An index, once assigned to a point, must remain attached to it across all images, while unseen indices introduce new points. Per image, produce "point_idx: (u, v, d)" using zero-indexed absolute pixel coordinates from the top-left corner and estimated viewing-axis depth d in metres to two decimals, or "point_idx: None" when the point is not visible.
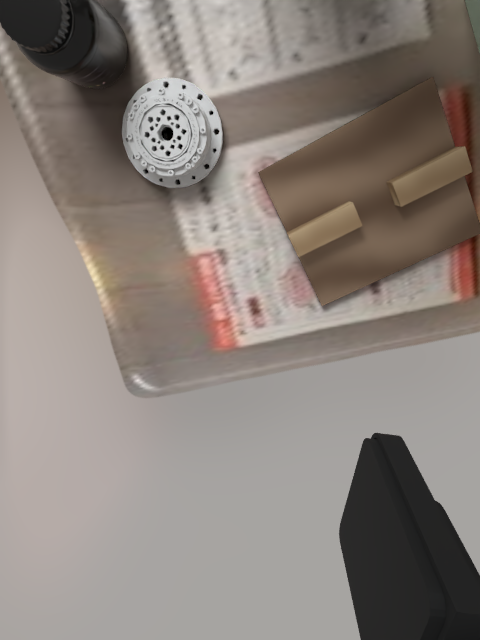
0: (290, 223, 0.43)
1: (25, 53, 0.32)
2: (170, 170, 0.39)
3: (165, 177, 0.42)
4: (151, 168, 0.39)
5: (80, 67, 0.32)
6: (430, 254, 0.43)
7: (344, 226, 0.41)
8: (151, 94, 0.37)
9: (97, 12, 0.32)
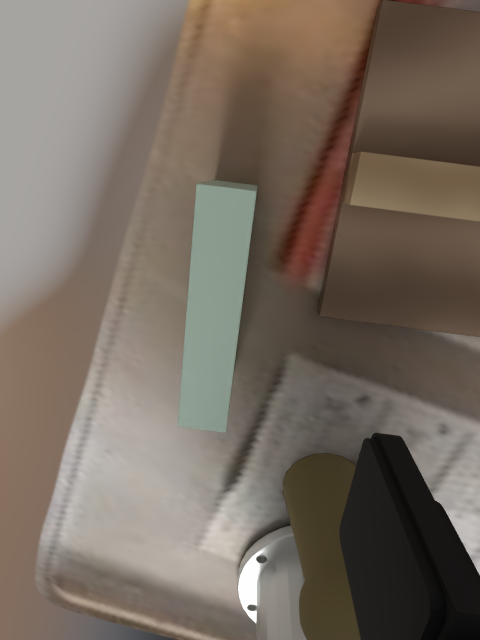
0: None
1: None
2: None
3: None
4: None
5: None
6: None
7: None
8: None
9: None
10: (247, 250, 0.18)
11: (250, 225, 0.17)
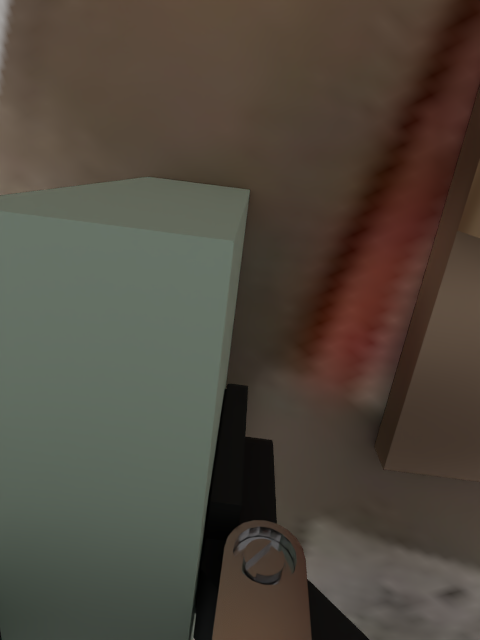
0: None
1: None
2: None
3: None
4: None
5: None
6: None
7: None
8: None
9: None
10: (201, 471, 0.04)
11: (210, 384, 0.04)
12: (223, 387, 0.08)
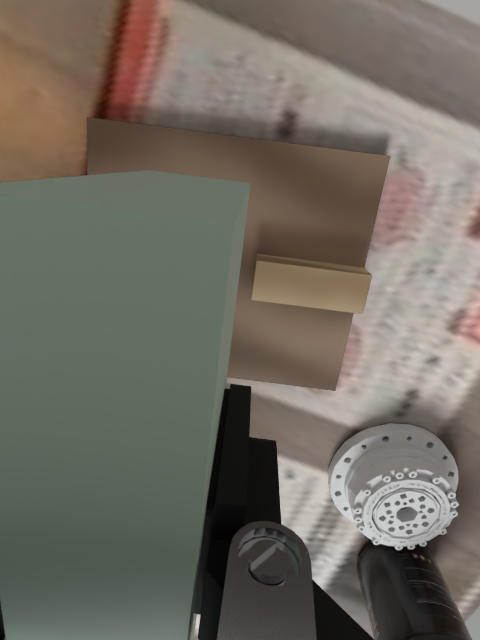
0: (342, 312, 0.28)
1: None
2: (434, 482, 0.29)
3: (437, 457, 0.31)
4: (451, 495, 0.29)
5: (442, 633, 0.28)
6: (178, 132, 0.24)
7: (281, 276, 0.25)
8: None
9: None
10: (202, 456, 0.04)
11: (210, 369, 0.04)
12: None
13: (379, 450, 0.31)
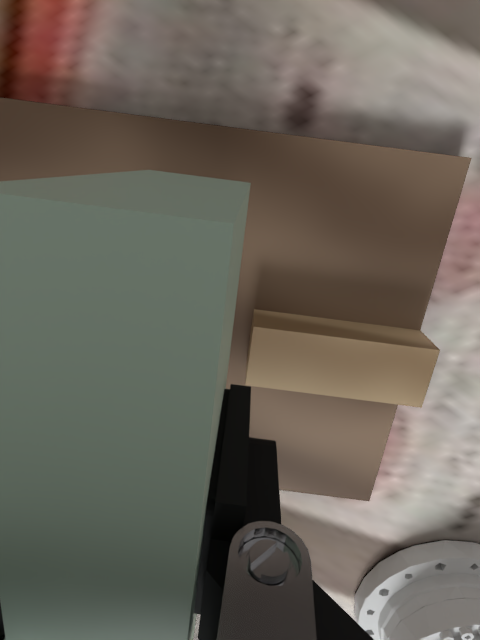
0: None
1: None
2: None
3: None
4: None
5: None
6: (125, 119, 0.15)
7: (293, 350, 0.15)
8: None
9: None
10: (202, 456, 0.04)
11: (210, 368, 0.04)
12: None
13: (431, 583, 0.21)
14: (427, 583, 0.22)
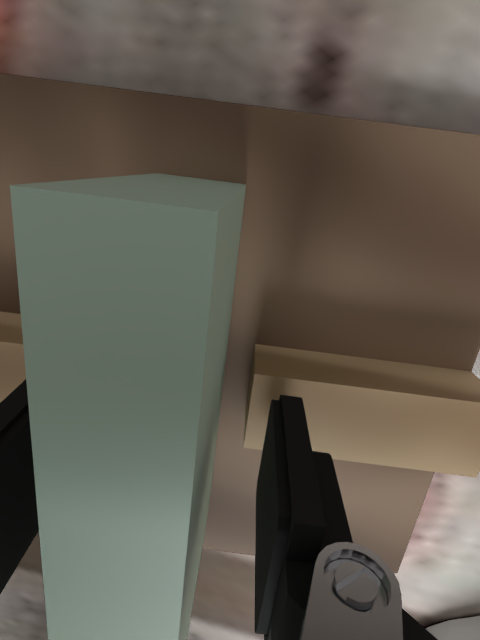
0: None
1: None
2: None
3: None
4: None
5: None
6: (78, 91, 0.11)
7: (307, 404, 0.12)
8: None
9: None
10: (197, 392, 0.06)
11: (203, 321, 0.05)
12: (220, 350, 0.09)
13: None
14: None
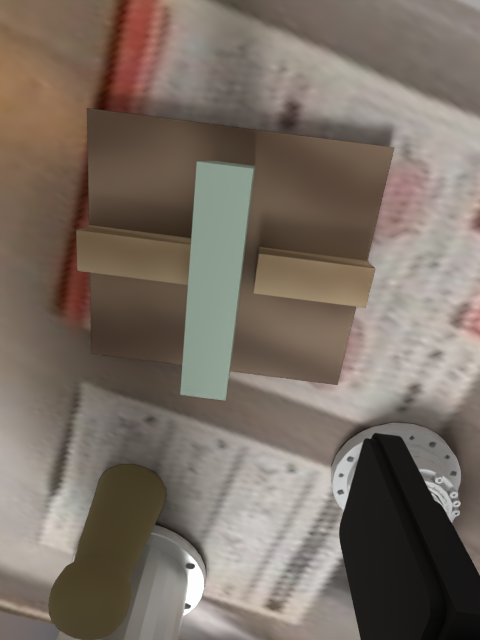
0: (345, 305, 0.27)
1: None
2: (437, 481, 0.29)
3: (440, 456, 0.31)
4: (453, 495, 0.29)
5: None
6: (179, 123, 0.24)
7: (283, 269, 0.25)
8: None
9: None
10: (245, 225, 0.19)
11: (247, 201, 0.18)
12: (246, 233, 0.22)
13: None
14: None
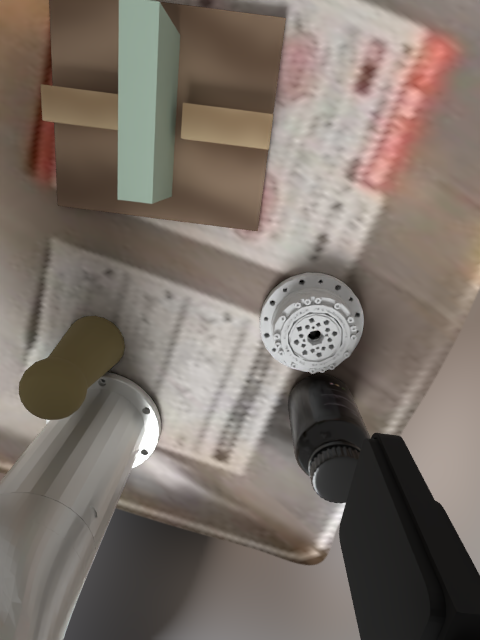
0: (258, 157, 0.34)
1: None
2: (336, 307, 0.36)
3: (345, 298, 0.38)
4: (350, 320, 0.36)
5: (339, 418, 0.35)
6: None
7: (203, 116, 0.32)
8: (303, 368, 0.38)
9: (296, 434, 0.36)
10: (156, 49, 0.26)
11: (157, 28, 0.25)
12: (168, 76, 0.29)
13: (296, 291, 0.38)
14: (294, 292, 0.38)
